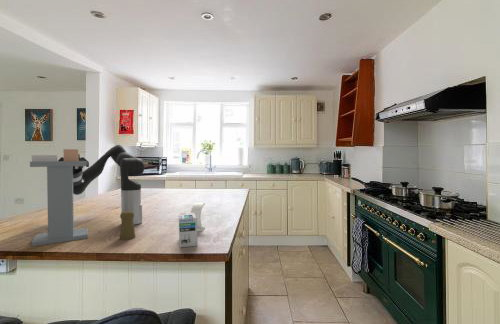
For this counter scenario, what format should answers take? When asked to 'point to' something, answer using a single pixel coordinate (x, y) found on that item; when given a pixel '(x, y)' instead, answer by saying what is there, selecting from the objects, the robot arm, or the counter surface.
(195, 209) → the headphone stand
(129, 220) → the cork
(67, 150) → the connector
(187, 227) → the light bulb box
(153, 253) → the counter surface
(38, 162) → the stand
